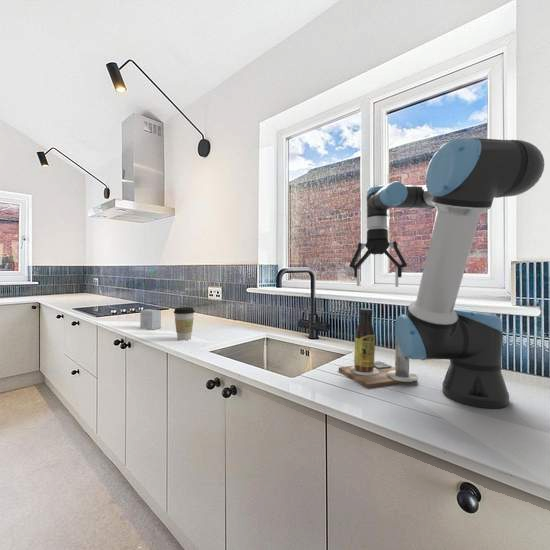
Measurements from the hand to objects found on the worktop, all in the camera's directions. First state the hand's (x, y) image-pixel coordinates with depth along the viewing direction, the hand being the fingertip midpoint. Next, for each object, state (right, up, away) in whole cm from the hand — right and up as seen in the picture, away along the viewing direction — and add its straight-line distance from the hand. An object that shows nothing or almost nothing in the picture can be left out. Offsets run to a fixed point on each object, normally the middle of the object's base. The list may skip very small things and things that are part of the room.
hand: (377, 286), depth 115 cm
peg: (+1, -27, -19) cm, 33 cm away
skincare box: (-110, -27, +63) cm, 129 cm away
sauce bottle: (-9, -27, -14) cm, 32 cm away
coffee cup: (-82, -27, +35) cm, 94 cm away
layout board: (-5, -28, -16) cm, 33 cm away
